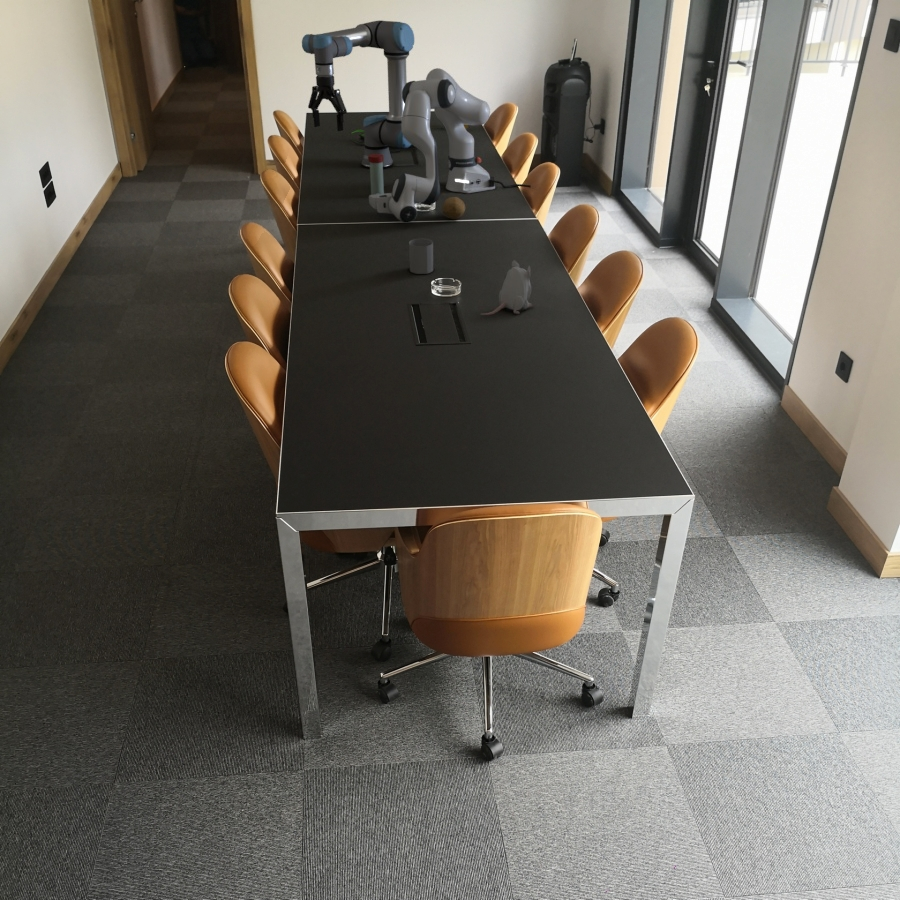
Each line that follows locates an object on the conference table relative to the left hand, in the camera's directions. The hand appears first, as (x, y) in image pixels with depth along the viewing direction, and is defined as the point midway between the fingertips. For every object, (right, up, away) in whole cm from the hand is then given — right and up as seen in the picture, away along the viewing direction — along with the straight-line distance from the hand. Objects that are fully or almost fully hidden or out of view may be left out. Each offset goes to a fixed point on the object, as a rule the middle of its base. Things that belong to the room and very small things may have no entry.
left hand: (328, 128), depth 372 cm
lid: (+20, -11, +3) cm, 23 cm away
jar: (+20, -26, +12) cm, 35 cm away
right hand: (+26, -30, -7) cm, 41 cm away
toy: (+70, -95, -96) cm, 152 cm away
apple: (+59, +43, +118) cm, 139 cm away
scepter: (+14, +27, +94) cm, 99 cm away
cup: (+42, -74, -64) cm, 107 cm away
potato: (+54, -43, -15) cm, 70 cm away
